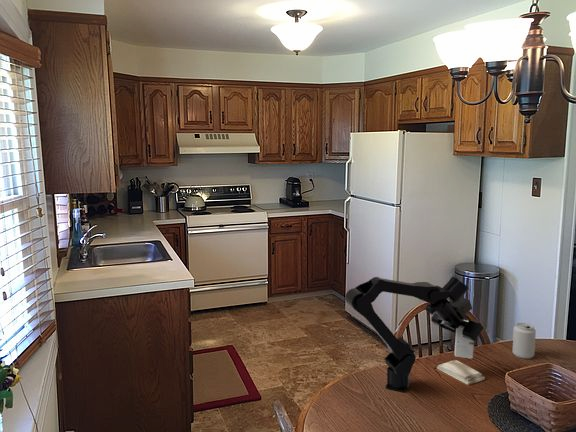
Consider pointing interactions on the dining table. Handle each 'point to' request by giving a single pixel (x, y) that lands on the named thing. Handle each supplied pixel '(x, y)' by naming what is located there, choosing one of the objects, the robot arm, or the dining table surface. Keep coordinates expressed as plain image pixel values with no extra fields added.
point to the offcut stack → (461, 372)
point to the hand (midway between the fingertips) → (467, 336)
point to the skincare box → (463, 345)
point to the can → (524, 340)
